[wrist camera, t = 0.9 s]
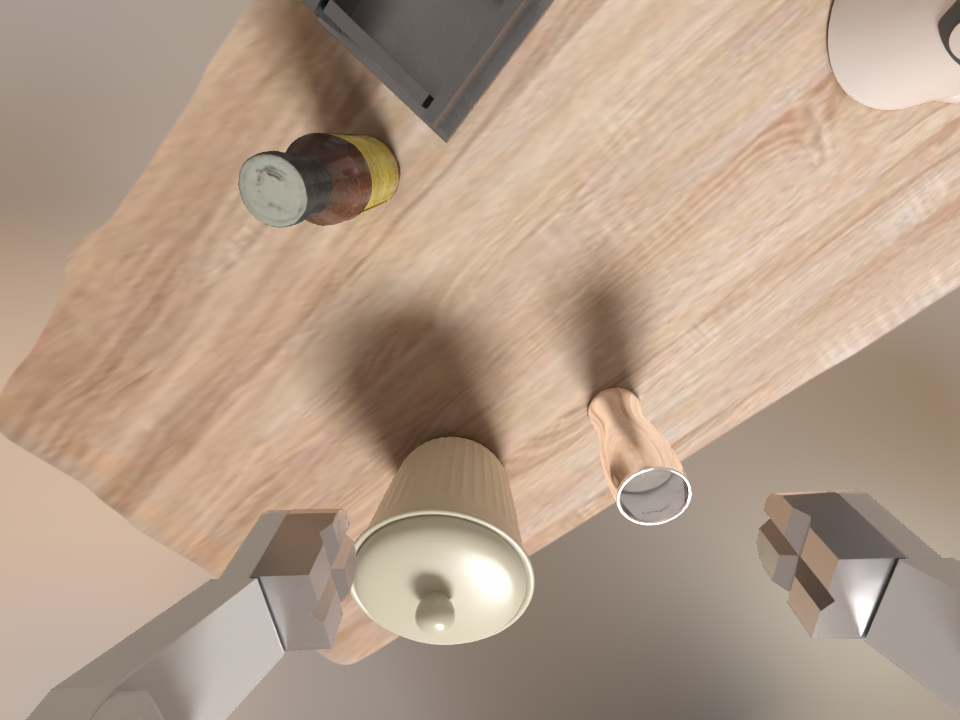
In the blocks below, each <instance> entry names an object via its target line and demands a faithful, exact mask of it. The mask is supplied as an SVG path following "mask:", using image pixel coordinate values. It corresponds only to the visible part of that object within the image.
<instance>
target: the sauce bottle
mask: <svg viewBox="0 0 960 720" xmlns="http://www.w3.org/2000/svg"><path fill="white" fill-rule="evenodd" d="M399 179H400V167H399V164H398V162H397V159H396V157H395V155H394V153H393V152H392V150H391V149H390V148H389V147H388V146H387V145H386V144H385V143H383V142H381V141H379V140H377V139H376V138H373V137H370V136H367V135H352V134H336V133H311V134H307V135H304V136H302V137H300V138H298V139H297V140H295V141H294V142H293V143H292V144H291V145H290V146H289V148H288V149H287V151H286V153H283V152H279V151H268V152H262V153H259V154H256V155H254V156H252V157H251V158H249V159H247V160H246V162H245V163H244V164H243V166H242V168H241V170H240V174H239V182H238V186H239V190H240V194H241V197H242V200H243V202H244V204H245V206H246V207H247V209H248V210H249V212H250V213H251V214H252V215H253V216H254V217H255V218H257V219H258V220H259V221H261V222H263V223H265V224H267V225H270V226H274V227H278V228H279V227H288V226H292V225H296V224H298V223H301V222H302V221H304V220H306V221H308V222H311V223H313V224H317V225H321V226H325V225H334V224H338V223H341V222H343V221H347V220H351V219H353V218H355V217H357V216H359V215H362V214H364V213H366V212H368V211H370V210H372V209H374V208H376V207H378V206H380V205H382V204H384V203H386V202H387V200H388V199H390V198H392V196H393V195H394V194H395V192H396V190H397V188H398V186H399Z"/></svg>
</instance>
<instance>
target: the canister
mask: <svg viewBox="0 0 960 720" xmlns="http://www.w3.org/2000/svg"><path fill="white" fill-rule="evenodd" d="M354 546H355V550H356V569H355V577H354V581H353V584H352V588H351V591H350V593H351V595H352V597H353V599H354V600H355V602H356V603H357V605H358V606H359V607H360V609H361V610H362V611H363V612H364V613H365V614H366V615H367V616H368V617H370V618H371V619H372V620H373V621H375V622H376V623H377V624H379V625H380V626H382V627H384V628H385V629H387V630H389V631H391V632H393V633H396V634H398V635H400V636H402V637H405V638H408V639H411V640H414V641H418V642H423V643H428V644H439V645H452V644H461V643H467V642H473V641H477V640H480V639H484V638H487V637H490V636H492V635H495V634H497V633H499V632H501V631H502V630H504V629H506V628H507V627H509V626H510V625H511V624H513V623H514V622H515V621H516V620H517V619H518V618H519V617H520V616H521V615H522V614H523V612H524V611H525V610H526V608H527V606H528V605H529V603H530V601H531V598H532V595H533V591H534V572H533V567H532V564H531V561H530V559H529V557H528V555H527V553H526V552H525V550H524V549H523V546H522V541H521V536H520V531H519V527H518V522H517V516H516V511H515V507H514V502H513V498H512V494H511V489H510V485H509V481H508V478H507V476H506V472H505V470H504V468H503V466H502V465H501V462H500V461H499V460H498V459H497V458H496V456H495V455H494V454H493V453H492V452H490V451H489V449H488V448H486V447H484V446H482V445H481V444H480V443H476V442H475V441H474V440H469V439H466V438H460V437H450V436H449V437H440V438H438V439H432V440H431V441H428V442H425V443H424V444H423V445H420V446H418V447H417V448H416V449H415V450H413V451H412V452H411V453H410V454H409V455H408V457H407V458H406V459H405V460H404V461H403V463H402V464H401V466H400V468H399V470H398V471H397V473H396V475H395V477H394V478H393V480H392V482H391V484H390V486H389V488H388V489H387V491H386V493H385V495H384V497H383V499H382V501H381V503H380V505H379V507H378V509H377V511H376V513H375V515H374V517H373V519H372V521H371V523H370V525H369V527H368V528H367V529H366V530H365V531H364V532H363V533H362V534H361V535H360V536H359V537H358V538H357V540H356V541H355V542H354Z"/></svg>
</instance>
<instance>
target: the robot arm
mask: <svg viewBox="0 0 960 720" xmlns="http://www.w3.org/2000/svg"><path fill="white" fill-rule="evenodd" d="M828 51H829V58H830V63H831V66H832V69H833V72H834V75H835V77H836V79H837V81H838V82H839V84H840V85H841V87H842V88H843V89H844V91H845V92H846V93H847V94H848V95H849V96H851V97H852V98H853V99H855V100H856V101H857V102H859V103H861V104H863V105H866V106H868V107H872V108H876V109H883V110H895V109H903V108H908V107H912V106H916V105H919V104H923V103H926V102H931V101H943V102H949V103H960V0H835V1H834V4H833V8H832V12H831V16H830V22H829V29H828ZM764 511H765V512H766V514H767V515H768V517H769V518H770V519H769V520H768V521H767V522H766V523H765V524H764V525H762V526H761V527H760V528H759V534H758V539H757V546H758V552H759V558H760V560H761V562H762V565H763V567H764V569H765V570H766V572H767V573H768V575H769V577H770V578H771V580H772V581H773V582H775V583H776V584H778V585H779V586H781V587H783V588H784V589H786V590H787V591H788V600H787V603H788V605H789V606H790V608H791V609H792V611H793V612H794V613H795V615H796V616H797V618H798V619H799V621H800V622H801V624H802V625H803V626H804V628H805V629H806V631H807V632H808V634H809V635H810V637H811V638H829V639H833V638H836V639H837V638H838V639H865V642H866V643H867V644H869V645H870V646H871V647H872V648H874V649H875V650H877V651H878V652H879V653H880V654H882V655H883V656H885V657H886V658H887V659H889V660H890V661H891V662H892V663H894V664H895V665H896V666H898V667H899V668H900V669H902V670H903V671H904V672H905V673H907V674H908V675H909V676H911V677H912V678H913V679H915V680H916V681H917V682H919V683H920V684H921V685H923V686H924V687H925V688H927V689H928V690H929V691H931V692H932V693H933V694H934V695H936V696H937V697H939V698H940V699H941V700H943V701H944V702H945V703H946V704H948V705H949V706H950V707H952V708H953V709H954V710H956V711H957V712H958V713H960V561H958V560H956V559H954V558H942V557H941V556H940V555H938V554H937V553H936V552H935V551H934V550H933V549H932V548H930V547H929V546H928V545H927V544H926V543H925V542H923V541H922V540H921V539H920V538H919V537H918V536H916V535H915V534H914V533H913V532H912V531H911V530H909V529H908V528H907V527H906V526H905V525H904V524H902V523H901V522H900V521H899V520H898V519H897V518H895V517H894V516H893V515H892V514H891V513H890V512H889V511H887V510H886V509H885V508H884V507H883V506H882V505H880V504H879V503H878V502H877V501H876V500H874V499H873V498H872V497H871V496H870V495H869V494H868V493H866V492H863V491H861V490H859V489H846V490H830V491H829V490H828V491H815V492H791V493H772V494H771V495H770V496H769V497H768V498H767V500H766V504H765V508H764ZM348 527H349V521H348V517H347V514H346V511H344V510H342V509H293V510H268V511H267V512H265V513H263V514H262V515H261V516H260V518H259V519H258V521H257V522H256V524H255V525H254V527H253V528H252V530H251V531H250V533H249V534H248V536H247V537H246V539H245V540H244V542H243V543H242V545H241V546H240V548H239V549H238V551H237V552H236V554H235V555H234V557H233V558H232V560H231V561H230V563H229V564H228V566H227V567H226V569H225V570H224V572H223V573H222V575H221V576H220V578H219V579H211V580H209V581H208V582H206V583H205V584H203V585H202V586H200V587H199V588H198V589H196V590H195V591H193V592H192V593H190V594H189V595H187V596H186V597H185V598H183V599H182V600H180V601H179V602H177V603H176V604H174V605H173V606H172V607H170V608H169V609H167V610H166V611H164V612H163V613H161V614H160V615H158V616H157V617H155V618H154V619H153V620H152V621H150V622H148V623H147V624H145V625H144V626H142V627H141V628H140V629H138V630H137V631H136V632H134V633H133V634H131V635H130V636H128V637H127V638H125V639H124V640H122V641H121V642H119V643H118V644H116V645H115V646H114V647H112V648H111V649H109V650H108V651H106V652H105V653H103V654H102V655H100V656H99V657H98V658H96V659H95V660H93V661H92V662H90V663H89V664H87V665H86V666H85V667H83V668H82V669H80V670H79V671H77V672H76V673H74V674H73V675H72V676H70V677H69V678H67V679H66V680H64V681H63V682H62V683H60V684H59V685H57V686H56V687H54V688H53V689H51V691H50V692H49V693H48V694H47V695H46V696H45V698H44V699H43V700H42V701H41V702H40V704H39V705H38V706H37V707H36V708H35V710H34V711H33V712H32V713H31V714H30V715H29V717H28V718H27V719H26V720H225V719H226V718H227V717H228V716H229V715H230V714H231V713H232V712H233V710H234V709H235V708H236V707H237V706H238V705H239V704H240V703H241V702H242V700H243V699H244V698H245V697H246V696H247V695H248V694H249V693H250V692H251V691H252V689H253V688H254V687H255V686H256V685H257V684H258V683H259V682H260V681H261V679H262V678H263V677H264V676H265V675H266V674H267V673H268V672H269V671H270V669H271V668H272V667H273V666H274V665H275V664H276V663H277V662H278V661H279V660H280V659H281V657H282V656H283V655H284V651H296V650H315V649H331V648H332V645H333V642H334V639H335V636H336V633H337V630H338V627H339V624H340V621H341V618H342V615H343V612H342V608H341V604H340V601H341V600H342V599H343V598H345V597H346V596H347V595H348V594H349V593H350V591H351V588H352V584H353V581H354V577H355V569H356V550H355V546H354V541H352V540H351V539H350V538H349V537H348V536H347V535H346V532H347V529H348Z"/></svg>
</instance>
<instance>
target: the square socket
mask: <svg viewBox="0 0 960 720" xmlns="http://www.w3.org/2000/svg"><path fill="white" fill-rule="evenodd" d="M302 2H303V3H304V4H305V5H306V6H307V7H308V8H309V9H310V10H311V11H312V12H313V13H315V14H316V15H317V16H318V17H319V18H318V19H317V21H318V22H319V23H320V24H321V25H322V26H323V27H324V28H325V29H326V30H328V31H329V32H330V33H331V34H332V35H333V36H334V37H335V38H336V39H337V40H338V41H339V42H340V43H341V44H342V45H343V46H344V47H345V48H347V49H348V50H349V51H350V52H351V53H352V54H353V55H354V56H355V57H356V58H357V59H358V60H359V61H360V62H361V63H362V64H363V65H365V66H366V67H367V68H368V69H369V70H370V71H371V72H372V73H373V74H374V75H375V76H376V77H377V78H378V79H379V80H380V81H381V82H382V83H384V84H385V85H386V86H387V87H388V88H389V89H390V90H391V91H392V92H393V93H394V94H395V95H396V96H397V97H398V98H399V99H400V100H401V101H403V102H404V103H405V104H406V105H407V106H408V107H409V108H410V109H411V110H412V111H413V112H414V113H415V114H416V115H417V116H418V117H419V118H421V119H422V120H423V121H424V122H425V123H426V124H427V125H428V126H429V127H430V128H431V129H432V130H433V131H434V132H435V133H436V134H437V135H438V136H440V137H441V138H442V139H443V140H444V141H445V142H446V143H448V141H449V140H450V139H451V137H452V136H453V135H454V133H455V132H456V131H457V129H458V128H459V127H460V125H461V124H462V123H463V121H464V120H465V119H466V117H467V116H468V115H469V113H470V112H471V111H472V109H473V108H474V107H475V105H476V104H477V103H478V101H479V100H480V99H481V97H482V96H483V95H484V93H485V92H486V91H487V89H488V88H489V87H490V85H491V84H492V83H493V82H494V80H495V79H496V78H497V76H498V75H499V74H500V72H501V71H502V70H503V68H504V67H505V66H506V64H507V63H508V62H509V60H510V59H511V58H512V56H513V55H514V54H515V52H516V51H517V50H518V48H519V47H520V46H521V44H522V43H523V42H524V40H525V39H526V38H527V36H528V35H529V34H530V32H531V31H532V30H533V28H534V27H535V26H536V24H537V23H538V22H539V21H540V19H541V18H542V17H543V15H544V14H545V13H546V11H547V10H548V9H549V7H550V6H551V5H552V3H553V2H554V0H302Z"/></svg>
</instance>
